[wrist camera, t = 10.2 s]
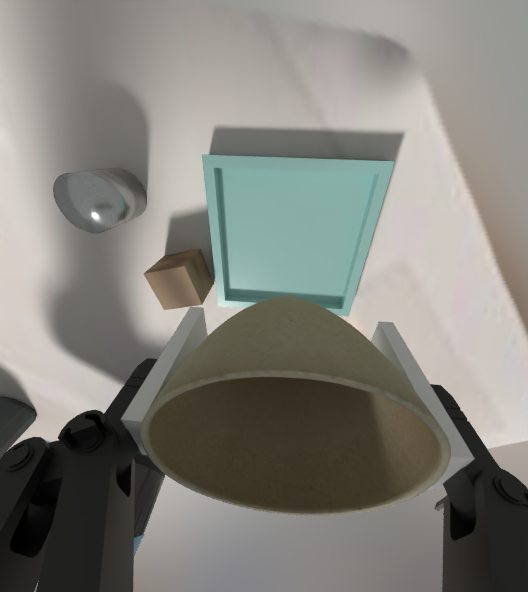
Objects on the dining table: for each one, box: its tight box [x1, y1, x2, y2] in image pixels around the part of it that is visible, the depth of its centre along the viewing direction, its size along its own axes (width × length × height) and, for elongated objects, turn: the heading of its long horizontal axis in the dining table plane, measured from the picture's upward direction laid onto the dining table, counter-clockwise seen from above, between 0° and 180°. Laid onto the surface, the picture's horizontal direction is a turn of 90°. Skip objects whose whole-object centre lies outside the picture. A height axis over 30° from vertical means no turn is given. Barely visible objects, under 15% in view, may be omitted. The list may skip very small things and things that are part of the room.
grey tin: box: [53, 168, 147, 233], centre depth 22 cm, size 5×5×6 cm
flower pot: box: [140, 297, 451, 516], centre depth 11 cm, size 10×10×7 cm
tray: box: [202, 154, 395, 316], centre depth 25 cm, size 17×17×2 cm
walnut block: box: [144, 249, 214, 310], centre depth 27 cm, size 5×5×5 cm
